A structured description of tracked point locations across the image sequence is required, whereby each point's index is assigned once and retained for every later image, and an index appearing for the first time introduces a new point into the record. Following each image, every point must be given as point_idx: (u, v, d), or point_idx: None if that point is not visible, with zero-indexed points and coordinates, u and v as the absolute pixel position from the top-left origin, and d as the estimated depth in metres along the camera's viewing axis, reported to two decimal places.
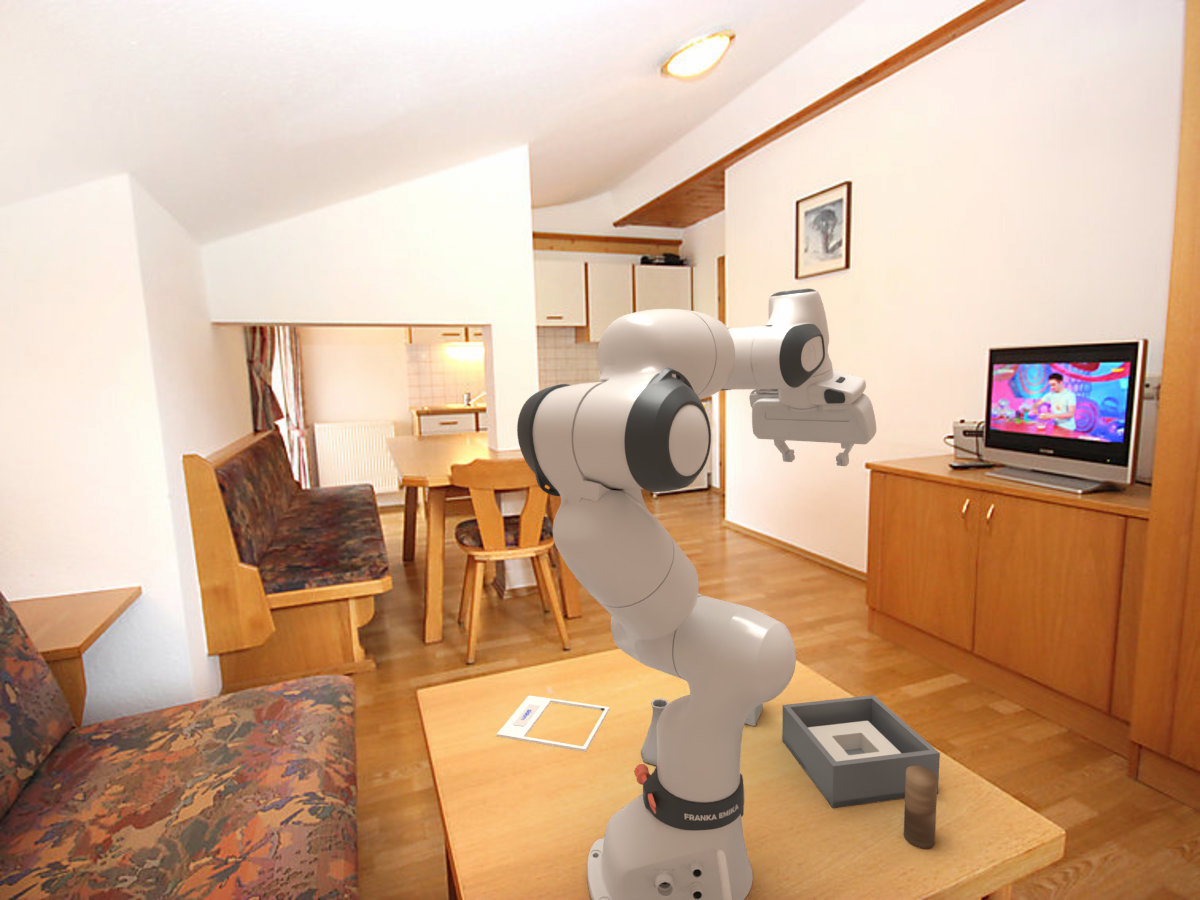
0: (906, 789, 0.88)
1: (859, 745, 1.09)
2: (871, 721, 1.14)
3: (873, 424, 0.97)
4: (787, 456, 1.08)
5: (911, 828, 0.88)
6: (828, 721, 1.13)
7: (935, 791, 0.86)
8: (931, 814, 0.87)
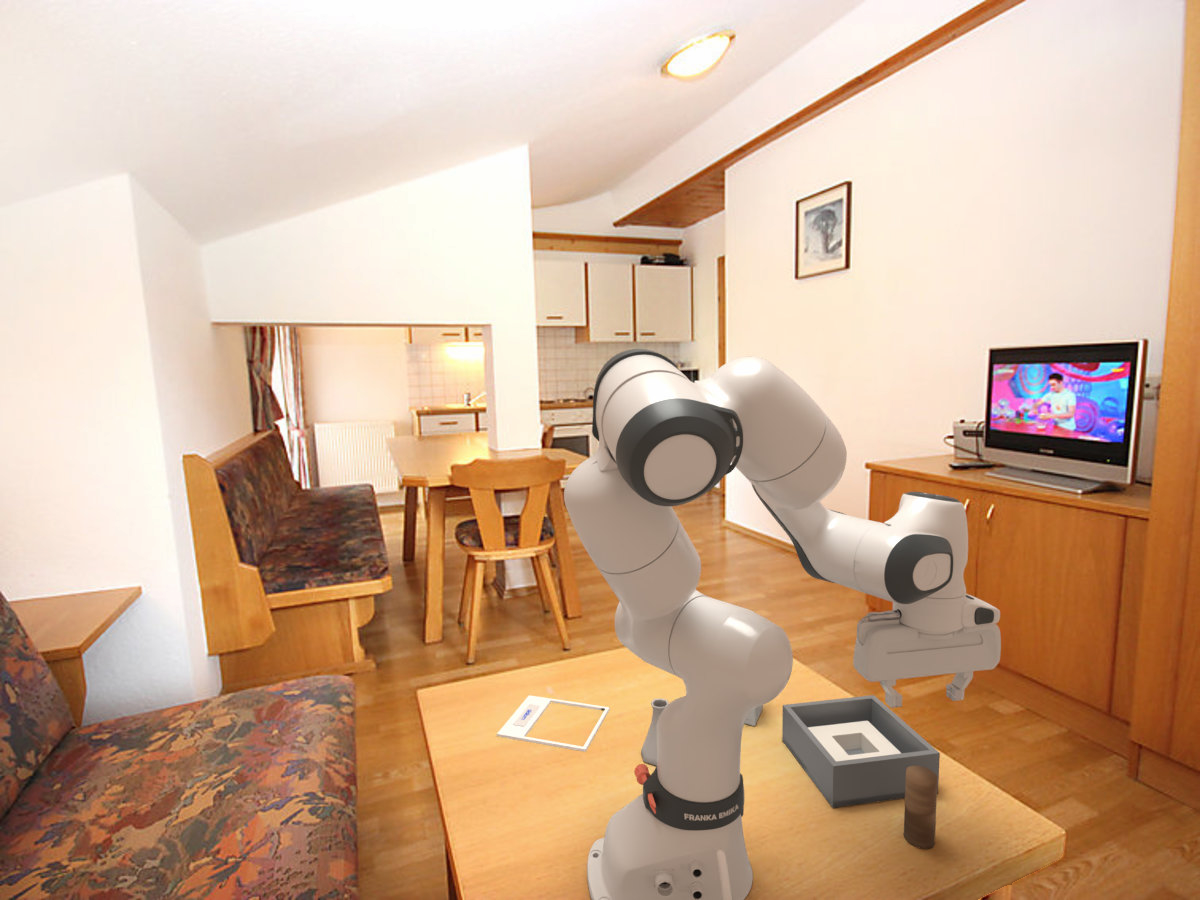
0: (906, 789, 0.88)
1: (859, 745, 1.09)
2: (871, 721, 1.14)
3: None
4: (899, 699, 0.85)
5: (911, 828, 0.88)
6: (828, 721, 1.13)
7: (935, 791, 0.86)
8: (931, 814, 0.87)
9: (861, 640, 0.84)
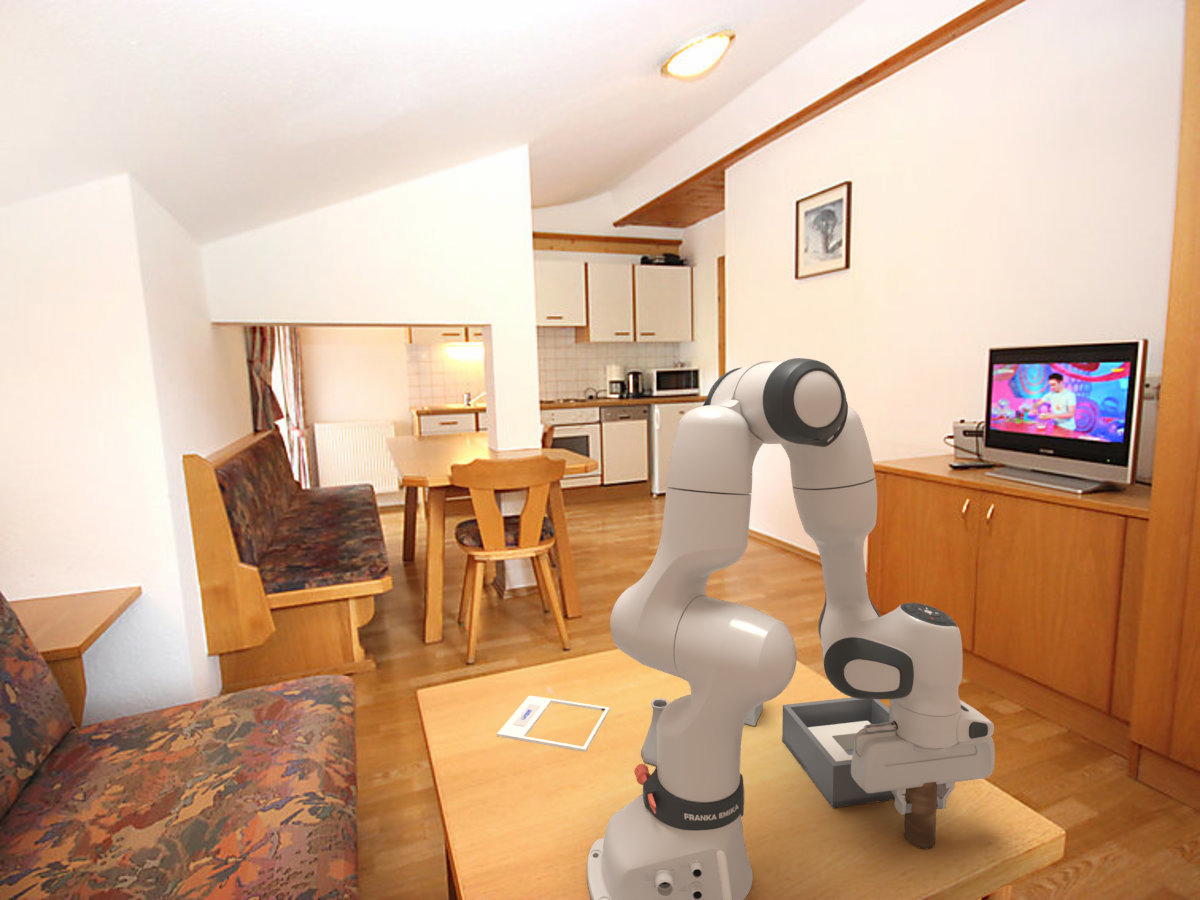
0: (906, 789, 0.88)
1: None
2: (871, 721, 1.14)
3: None
4: (908, 807, 0.87)
5: (911, 828, 0.88)
6: (828, 721, 1.13)
7: (935, 791, 0.86)
8: (931, 814, 0.87)
9: (858, 752, 0.86)
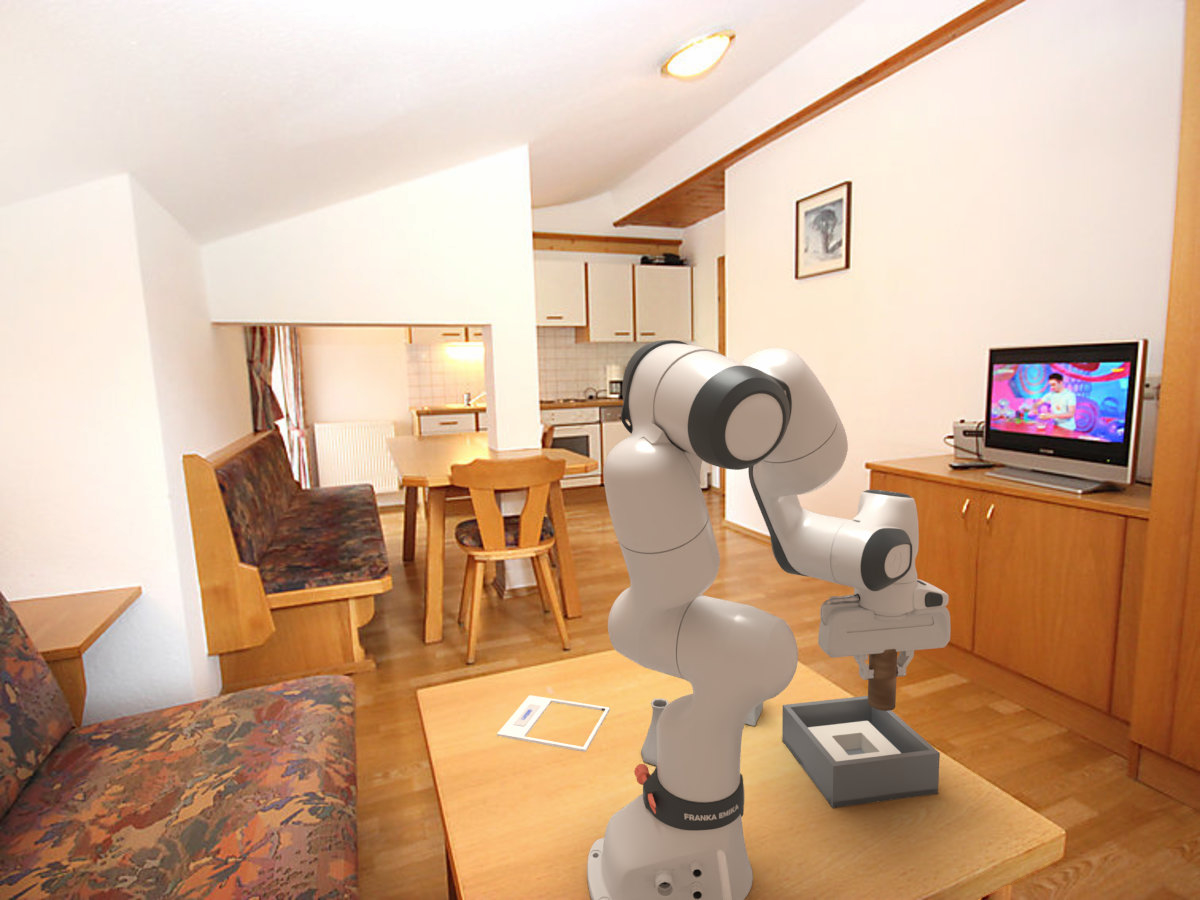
0: (869, 658, 0.97)
1: (859, 745, 1.09)
2: (871, 721, 1.14)
3: None
4: (871, 672, 0.96)
5: (874, 692, 0.96)
6: (828, 721, 1.13)
7: (895, 657, 0.95)
8: (891, 678, 0.95)
9: (824, 621, 0.94)
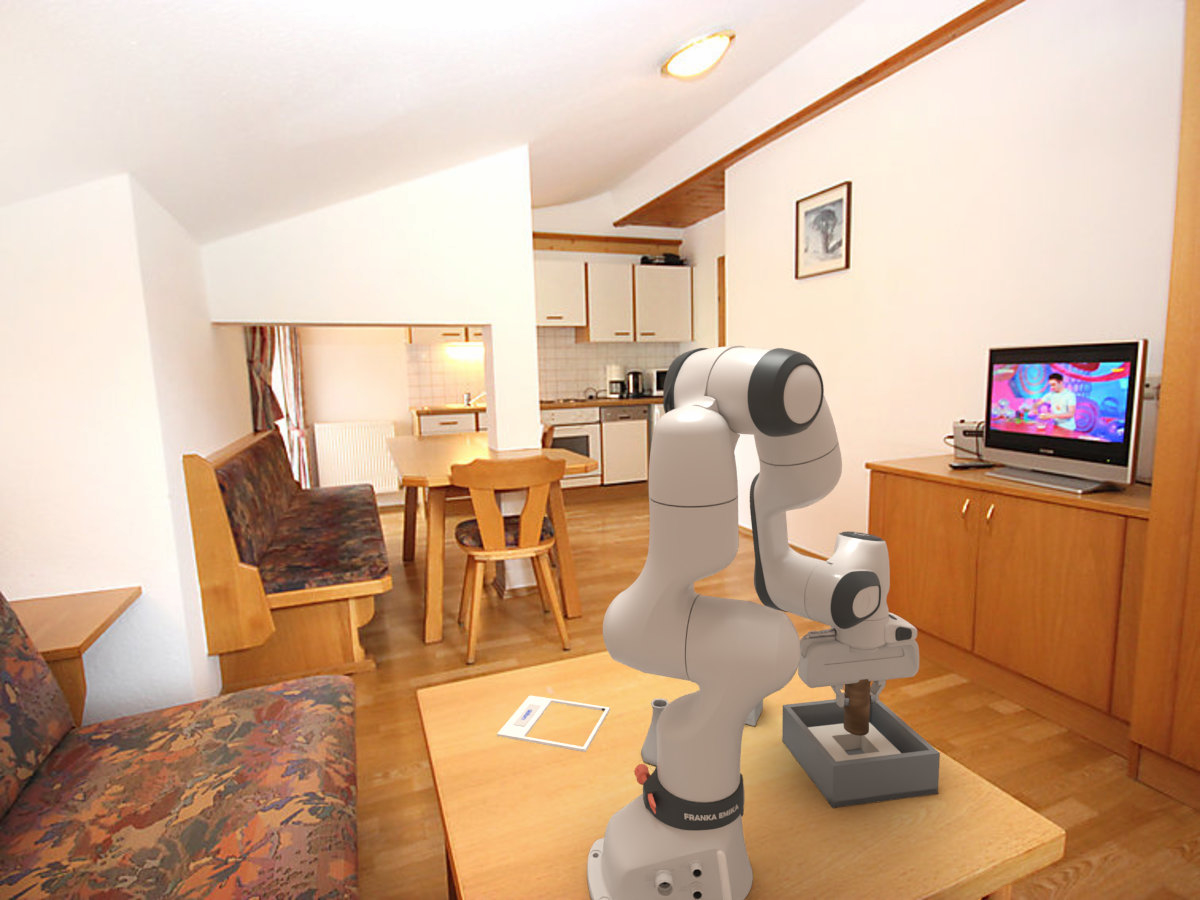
0: (845, 686, 1.05)
1: (859, 745, 1.09)
2: (871, 721, 1.14)
3: None
4: (846, 701, 1.03)
5: (849, 718, 1.04)
6: (828, 721, 1.13)
7: (868, 686, 1.03)
8: (864, 705, 1.03)
9: (803, 654, 1.01)
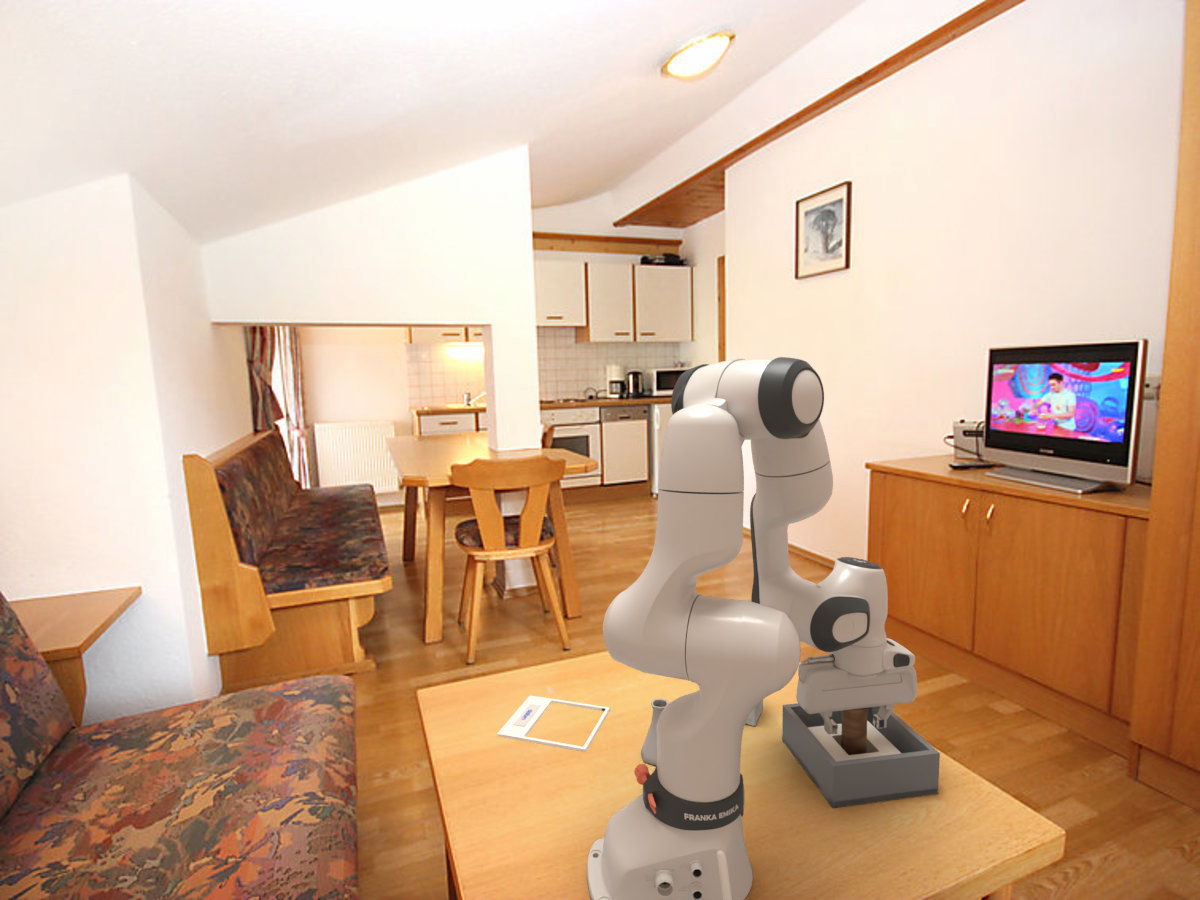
0: (842, 718, 1.05)
1: None
2: (871, 721, 1.14)
3: None
4: (834, 728, 1.03)
5: (846, 750, 1.04)
6: None
7: (865, 718, 1.03)
8: (861, 737, 1.03)
9: (801, 679, 1.02)
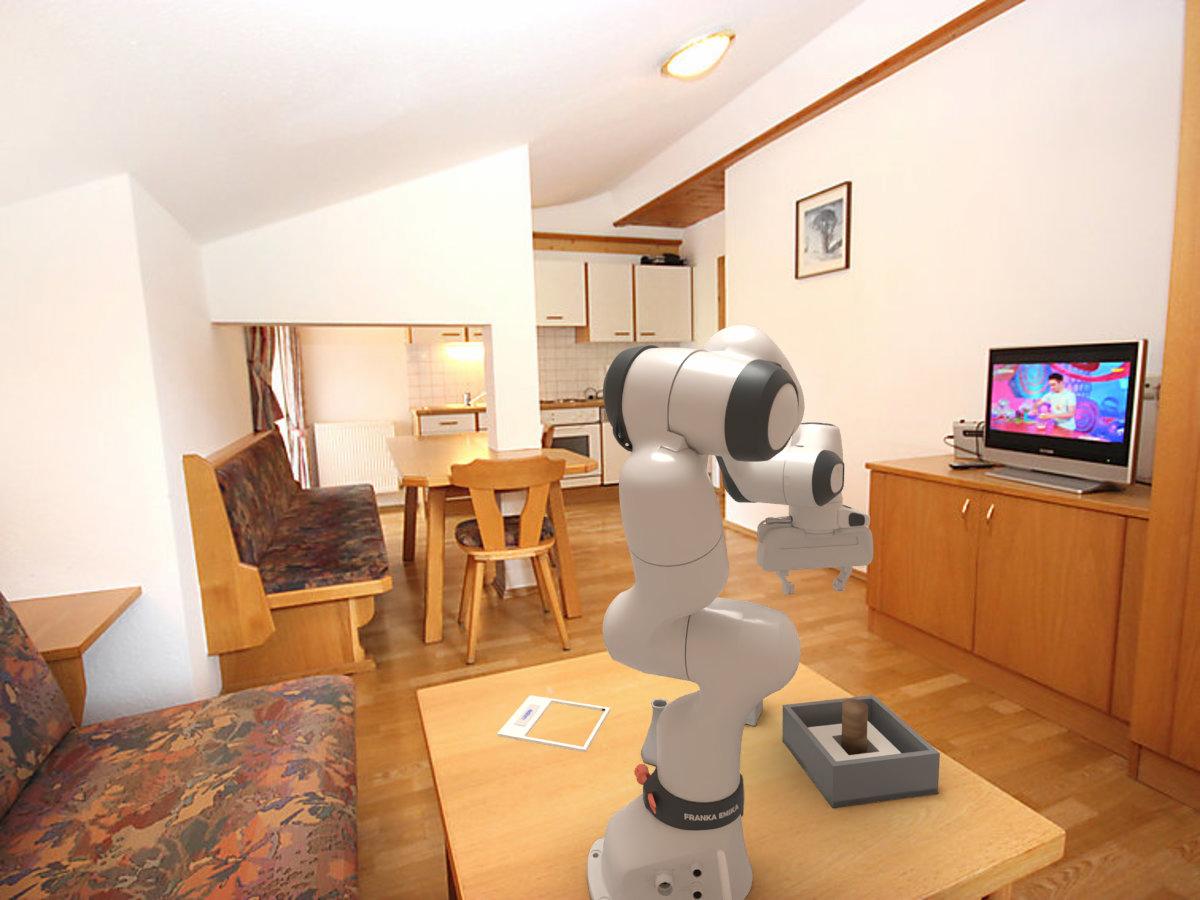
0: (842, 718, 1.05)
1: None
2: (871, 721, 1.14)
3: None
4: (791, 588, 1.07)
5: (846, 750, 1.04)
6: (828, 721, 1.13)
7: (865, 718, 1.03)
8: (862, 737, 1.03)
9: (760, 539, 1.06)
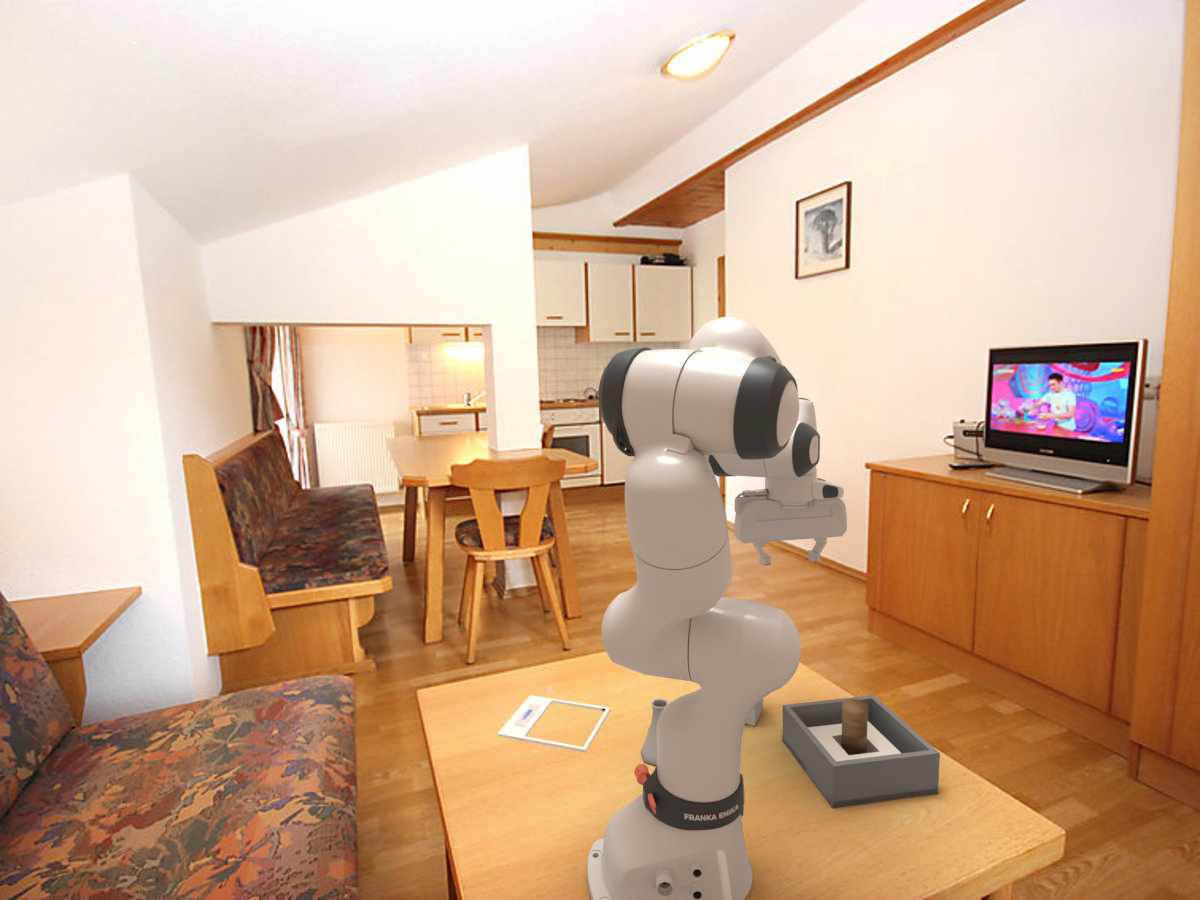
0: (842, 718, 1.05)
1: None
2: (871, 721, 1.14)
3: None
4: (768, 559, 1.10)
5: (846, 750, 1.04)
6: (828, 721, 1.13)
7: (865, 718, 1.03)
8: (862, 737, 1.03)
9: (737, 511, 1.09)
